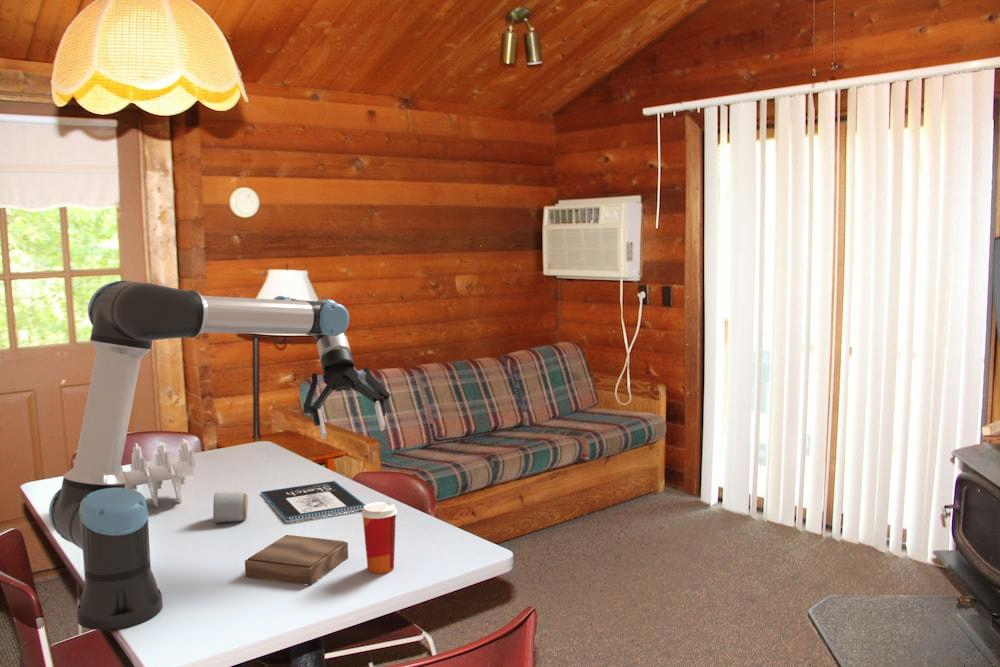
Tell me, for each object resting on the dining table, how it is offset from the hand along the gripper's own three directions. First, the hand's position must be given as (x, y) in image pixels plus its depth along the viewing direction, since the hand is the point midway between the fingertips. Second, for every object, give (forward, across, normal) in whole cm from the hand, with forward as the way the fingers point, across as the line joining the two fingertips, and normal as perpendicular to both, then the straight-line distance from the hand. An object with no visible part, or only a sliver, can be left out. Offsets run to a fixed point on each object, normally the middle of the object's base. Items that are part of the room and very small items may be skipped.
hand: (354, 432), depth 194 cm
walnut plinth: (+24, +16, -14) cm, 32 cm away
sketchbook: (-6, +5, -49) cm, 49 cm away
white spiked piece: (-18, +47, -58) cm, 77 cm away
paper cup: (+30, 0, -8) cm, 31 cm away
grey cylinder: (-4, +27, -43) cm, 51 cm away
